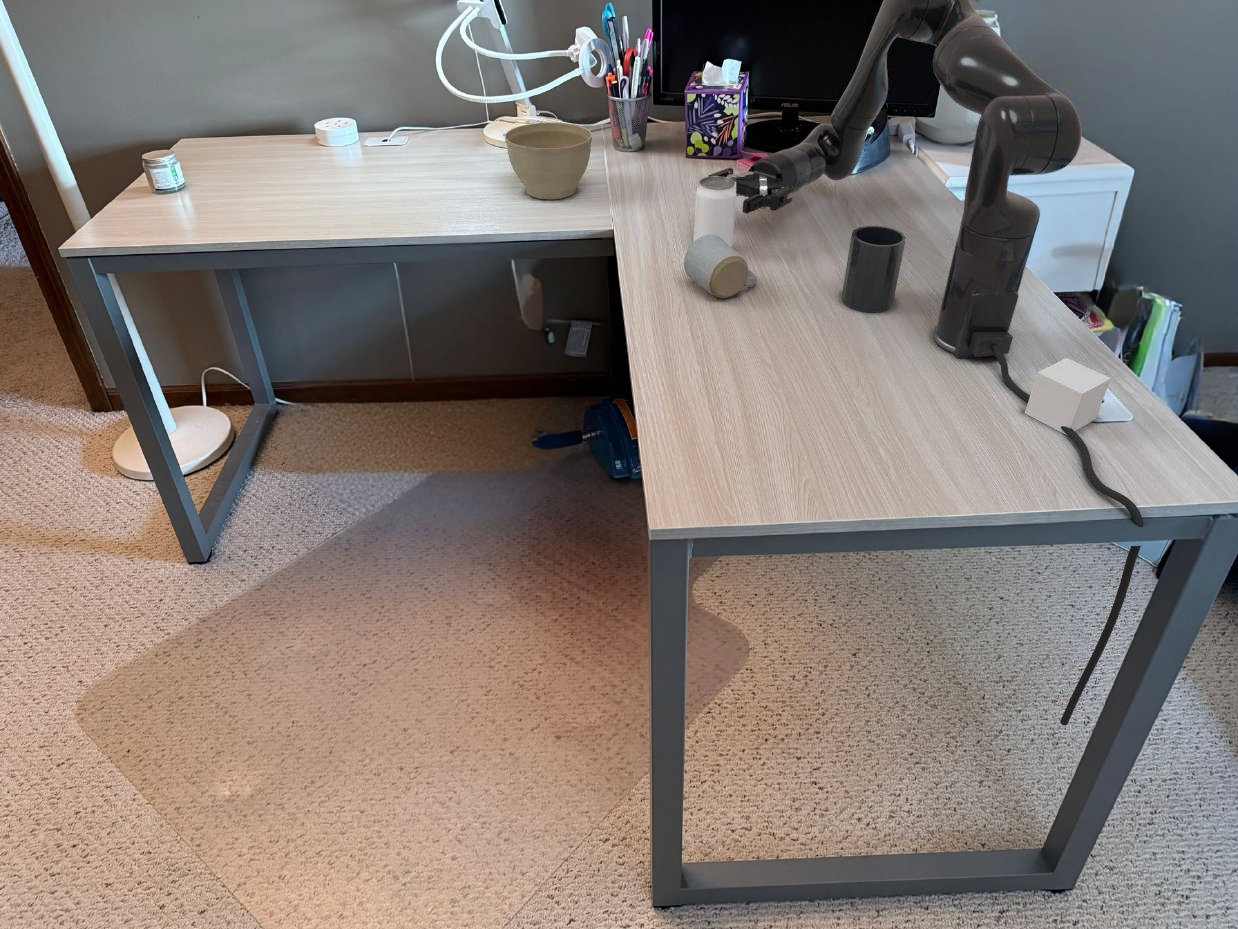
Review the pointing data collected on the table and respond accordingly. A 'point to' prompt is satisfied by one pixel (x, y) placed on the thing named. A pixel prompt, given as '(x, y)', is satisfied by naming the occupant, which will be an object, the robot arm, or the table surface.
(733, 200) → the can
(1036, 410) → the white cube
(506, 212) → the table surface
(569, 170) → the planter bowl
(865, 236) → the pen cup
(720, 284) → the ceramic mug
